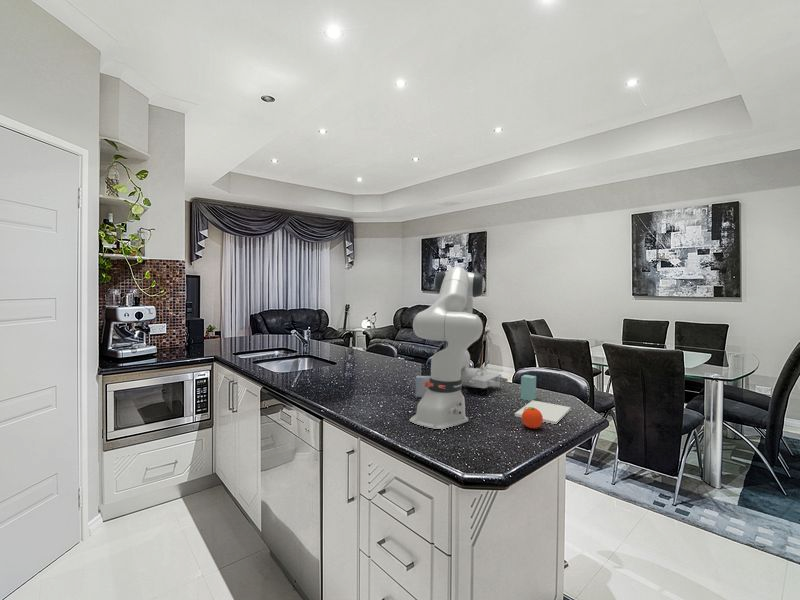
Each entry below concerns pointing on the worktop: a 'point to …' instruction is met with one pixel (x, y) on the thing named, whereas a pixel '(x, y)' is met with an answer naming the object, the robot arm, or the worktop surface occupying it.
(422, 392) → the medicine box
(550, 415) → the white cutting board
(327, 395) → the worktop surface
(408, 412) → the worktop surface
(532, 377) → the teal block
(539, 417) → the clementine
